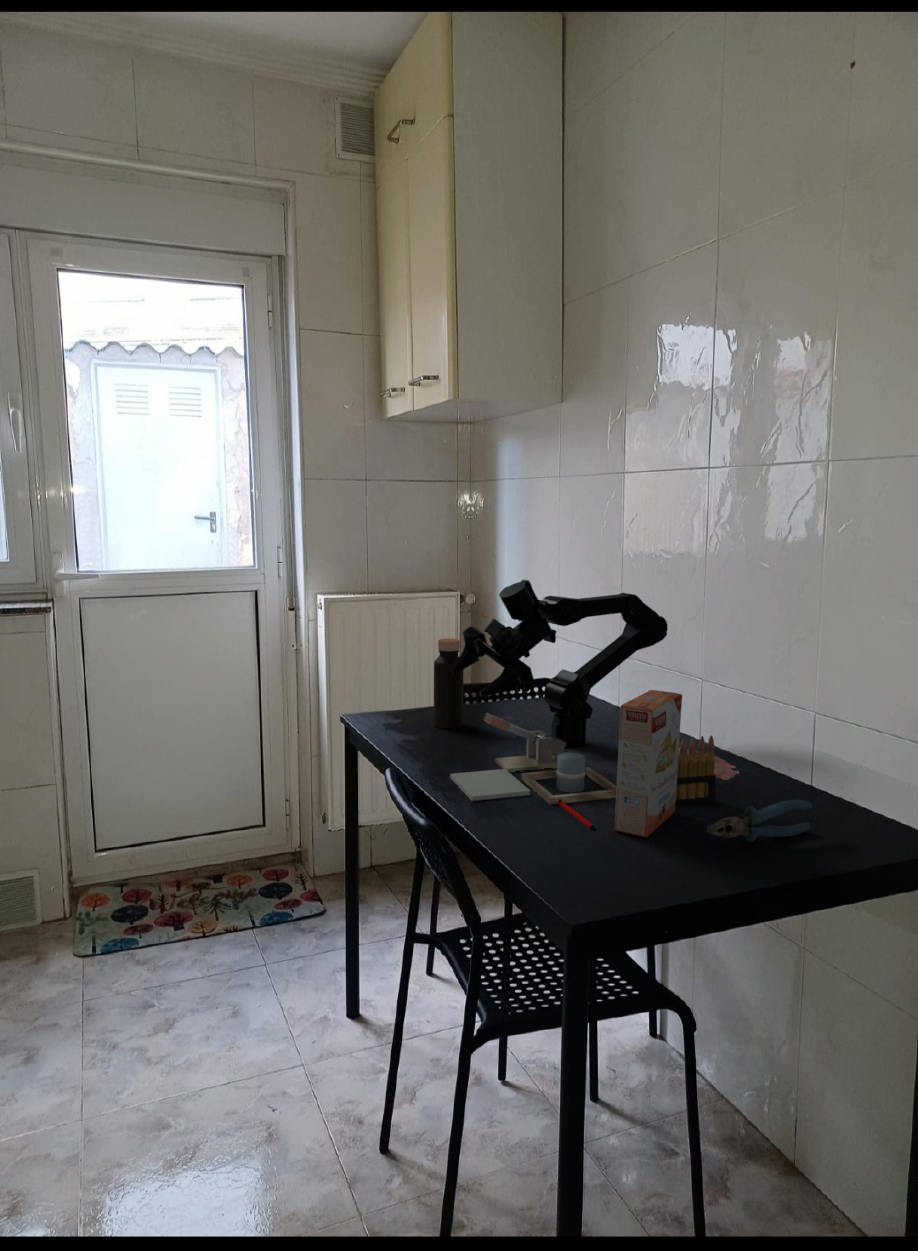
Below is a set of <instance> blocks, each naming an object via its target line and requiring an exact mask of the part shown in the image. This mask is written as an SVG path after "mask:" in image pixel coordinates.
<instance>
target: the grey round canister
mask: <svg viewBox="0 0 918 1251" xmlns="http://www.w3.org/2000/svg"><path fill="white" fill-rule="evenodd" d="M556 758H557V768H556V770H557V773H556V774H557V778H556V790H558V791H560V792H562V791H564V792H563V793H567V792H570V793H569V794H573V793H577V792H578V793H582V792H583V791H584V790H585V777H586V775H585V767H586V756H585V755H584V754H582V753H578V752H577V753H576V752H562V753H561V754H559V755H558V756H556ZM581 791H582V792H581Z"/></svg>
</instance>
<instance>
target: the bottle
mask: <svg viewBox="0 0 918 1251" xmlns="http://www.w3.org/2000/svg"><path fill="white" fill-rule="evenodd" d="M460 643H461V642H460V639H457V638H439V639H438V640H437V650H438V653H439V655H438V656H437V657H436V659H434V662H433V725H434V726H435V727H437V728H439V729H444V728H445V729H449V730H450V729H451V730H452V728H453V729H458V728H461V727H462V726H463V725H464V671H465V669H463V670H462V671H460V672H458V673H455V674H453V673H452V668H453V667H454V665H455V664H456V662H457V660H458V659H459V657H460V655H459V652H460V650H461V648H460V647H461V646H460V645H461V644H460Z"/></svg>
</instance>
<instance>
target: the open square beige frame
mask: <svg viewBox="0 0 918 1251" xmlns="http://www.w3.org/2000/svg"><path fill="white" fill-rule="evenodd" d="M556 773H557V769H554V770H552V769H551V770H540V771H533V772H532V771H530V772H523V773H521V772H520V780H521V781H522V780H523V781H524V782H525V783H526V784H525V785H527V786H528V785H529V786H530V787H531V788H532V789H533V790H532V789H531V788H530V787H529V786H528V787H529V788H530V789H531V790H532V791H533V792H535V793H536V792H537V793H536V794H537V795H538V796H539V797H541V798H542V799H543V800H544V801H545V802H546V803H548V804H549V805H558V801H559V800H560V799H561V800H562V802H563V803H565V804H571V803H577V802H587V801H597V800H607V799H608V800H609V799H616V790H617V784H614V782H611V781H610V780H609V779H607V778H606V777H604V776H603V775H602V774H599V773H598V772H597V771H595V770H594V769H593V768H591V767H589V766H588V767H587V766H585V776H587V777H588V778H590V779H591V780H592V781H594V782H595V783H596V784H598V785H599V786H600V787H602V788H604V790H595V791H594V790H593V791H585V792H583V791H582V792H578V793H564V794H554V796H553V795H552V794H551V793H550V792H551V791H549V790H547V789H546V788H545V787H543V786H542V784H540V783H539V782H537V780H538V781H539V779H540V780H549V778H551V779H557V774H556ZM523 781H522V782H523ZM524 782H523V783H524Z"/></svg>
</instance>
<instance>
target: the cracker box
mask: <svg viewBox="0 0 918 1251" xmlns="http://www.w3.org/2000/svg"><path fill="white" fill-rule="evenodd" d="M682 704H683V694H682V693H679V692H672V691H664V690H657V689H656V690H655V689H650V690H648V691H646V692H644V693H641V695H638V696H636V697H634V698H633V699H630V700H628V701H627V702H624V703H623V704H621V705H620V710H619V711H620V712H619V732H618V750H617V751H618V752H617V773H616V786H617V790H616V798H615V811H614V813H615V814H614V831H616V832H619V833H623V834H626V835H627V834H628V835H633V836H636V837H640V836H641V838H646V839H647V838H648V837H649V836H651V834H652V833H654V832H655V830H657V829H658V828H659V827H660V826H661V825H662V824H663V823H665V822H666V821H667V820H668V819H669V818H670V817H671V816H672V815H673V814H674V813H676V807H675V801H676V785H677V769H678V760H679V759H678V753H679V747H680V736H681V734H680V733H681V721H682V720H681V718H682Z"/></svg>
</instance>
